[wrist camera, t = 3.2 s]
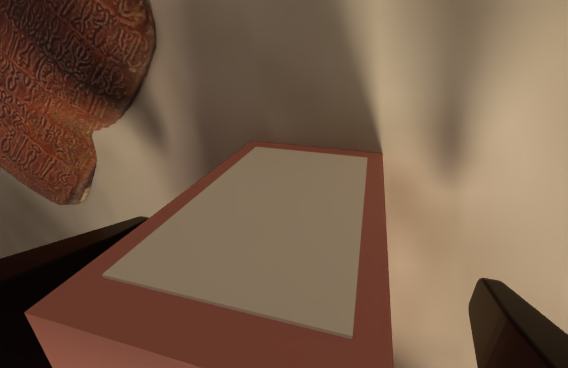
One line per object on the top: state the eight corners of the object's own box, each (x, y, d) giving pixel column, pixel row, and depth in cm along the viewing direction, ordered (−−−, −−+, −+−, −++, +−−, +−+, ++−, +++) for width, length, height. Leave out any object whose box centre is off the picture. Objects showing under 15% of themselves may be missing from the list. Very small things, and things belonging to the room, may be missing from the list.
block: (260, 348, 14) (167, 590, 8) (252, 138, 9) (22, 308, 3) (347, 372, 13) (320, 673, 7) (382, 150, 8) (397, 423, 2)
